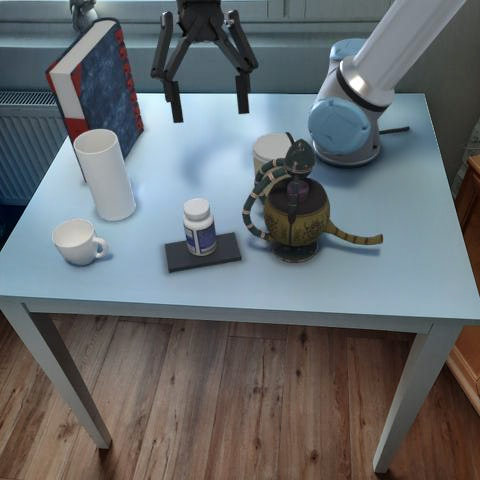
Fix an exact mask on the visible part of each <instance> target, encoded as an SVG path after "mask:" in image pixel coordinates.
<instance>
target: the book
mask: <svg viewBox="0 0 480 480" xmlns="http://www.w3.org/2000/svg"><path fill="white" fill-rule="evenodd" d="M124 40H125V37H124V32H123V29H122V25H121V24H120V20H119V19H118V18H116V17H112V16H107V17H105V16H104V17H100V18H96V19H94V20H92V21H91V23H90V24H89V25H88V26H87V27H86V28H85V29H84V30H83V31H82V33H81V34H79V36H78V37H77V38H76V39H74V41H73V42H72V43H71V44H70V45H69V46H68V47H67V48H66V49H65V50H64V51H63V52H62V53H61V54H60V55H59V56H58V57H57V58H56V59H55V60H54V61H53V62H52V63H51V64H50V65H49V66H48V68H47V69H45V71H44V73H45V78H46V81H47V83H48V85H49V88H50V91H51V93H52V95H53V98H54V101H55V103H56V106H57V109H58V111H59V114H60V117H61V120H62V123H63V125H64V128H65V130H66V133H67V136H68V139H69V141H70V144H71V147H72V151H73V153H74V156H75V158H76V160H77V163H78V166H79V169H80V173H81V174H82V177H83V180H84V182H85V183H86V184H87V182H86V179H85V176H84V173H83V171H82V168H81V165H80V163H79V160H78V157H77V154H76V152H75V149H74V141H75V139H76V138H77V137H78V136H80V135H81V134H83V133H85V132H87V131H90V130H95V129H106V130H110V131H112V132H114V133H115V134H116V136H117V138H118V142H119V145H120V149H121V152H122V156H123V160H124V161H125V160H126V158H127V157H128V155H129V153H130V152H131V150H132V148H133V147H134V145H135V144H136V142H137V140H138V139H139V138H140V136H141V134H142V133H143V132H144V131H145V129H144V123H143V118H142V114H141V109H140V104H139V102H138V95H137V90H136V88H135V82H134V81H135V80H134V78H133V74H132V68H131V63H130V59H129V58H128V57H129V55H128V50H127V46H126V43H125V41H124Z"/></svg>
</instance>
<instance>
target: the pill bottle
mask: <svg viewBox="0 0 480 480" xmlns="http://www.w3.org/2000/svg"><path fill="white" fill-rule="evenodd" d="M182 208H183V217H182V224H183V230H184V235H185V240H186V241H187V246H188V249H189V251H190V252H191V253H192V254H194V255H197V256H205V255H208V254H210V253H212V252H213V251H214V250H215V249H216V246H217V240H216V235H217V233H216V225H215V218H214V214H213V212H212V211H211V207H210V203H209V201H208V200H206V199H205V198H201V197H196V198H191V199H189V200H187V201H186V202H185V203H184V204H183V207H182Z"/></svg>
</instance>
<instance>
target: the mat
mask: <svg viewBox="0 0 480 480" xmlns="http://www.w3.org/2000/svg"><path fill="white" fill-rule="evenodd" d="M216 240H217V246H216V249H215V250H214V251H213V252H212V253H210V254H208V255H205V256H197V255H194V254H192V253H191V252H190V251H189V249H188V246H187V241H186V239H184V240H179V241H174V242H169V243H164V249H165V255H166V262H167V269H168V273H169V274H171V273H176V272H182V271H187V270H193V269H199V268H205V267H210V266H215V265H221V264H226V263H232V262H238V261H242V254H241V250H240V247H239V243H238V240H237V236H236V233H235V231H232V232H227V233H226V232H225V233H221V234H216Z"/></svg>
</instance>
